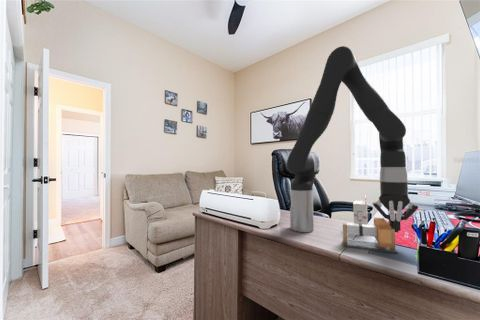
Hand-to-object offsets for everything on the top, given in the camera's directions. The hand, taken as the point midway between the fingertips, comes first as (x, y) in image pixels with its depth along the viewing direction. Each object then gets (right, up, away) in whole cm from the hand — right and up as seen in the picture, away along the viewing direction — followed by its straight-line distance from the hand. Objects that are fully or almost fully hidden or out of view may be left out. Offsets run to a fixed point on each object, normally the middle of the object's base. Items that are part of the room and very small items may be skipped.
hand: (395, 231), depth 71 cm
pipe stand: (-9, -5, 0) cm, 11 cm away
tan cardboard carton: (-5, -3, -2) cm, 6 cm away
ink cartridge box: (-1, -6, +18) cm, 19 cm away
